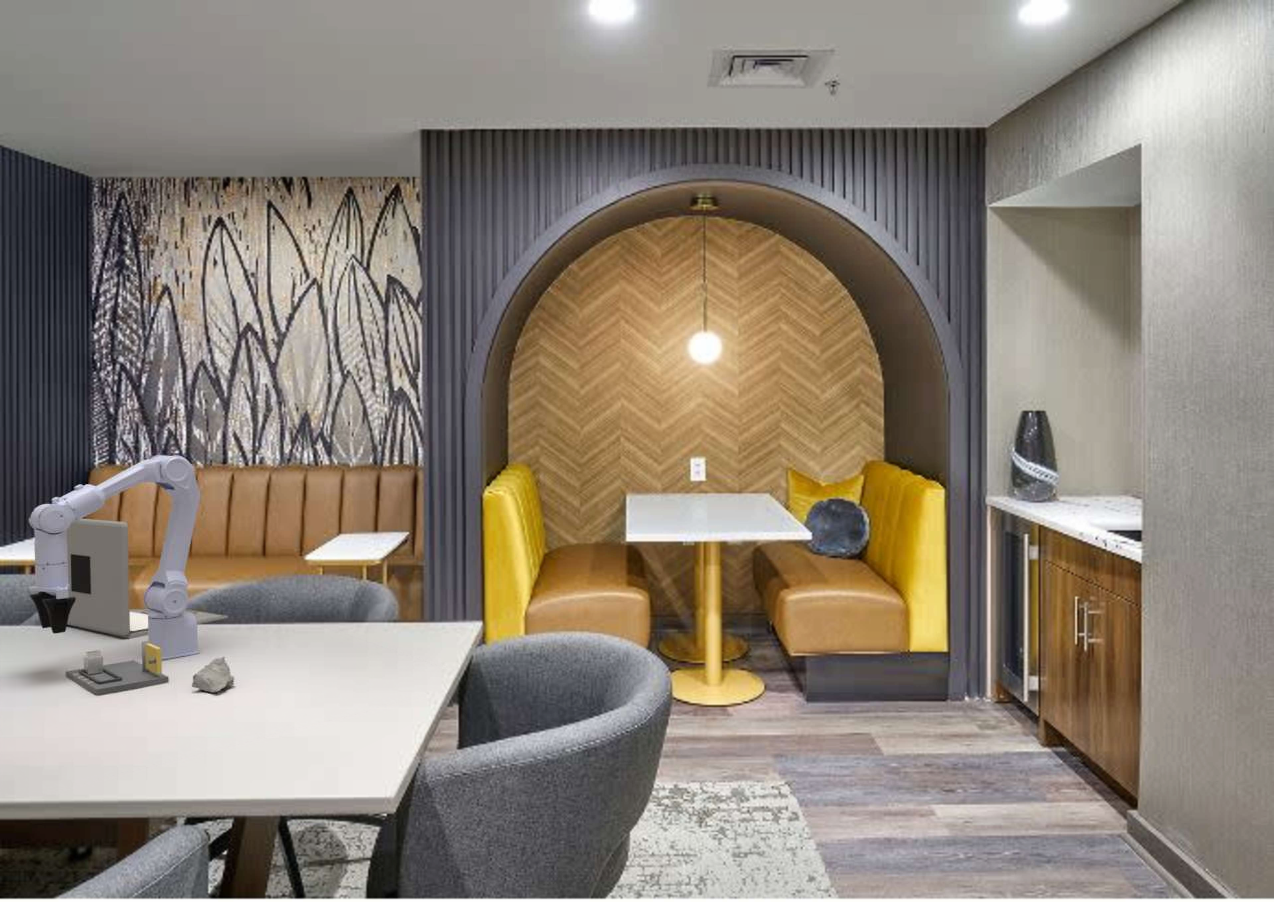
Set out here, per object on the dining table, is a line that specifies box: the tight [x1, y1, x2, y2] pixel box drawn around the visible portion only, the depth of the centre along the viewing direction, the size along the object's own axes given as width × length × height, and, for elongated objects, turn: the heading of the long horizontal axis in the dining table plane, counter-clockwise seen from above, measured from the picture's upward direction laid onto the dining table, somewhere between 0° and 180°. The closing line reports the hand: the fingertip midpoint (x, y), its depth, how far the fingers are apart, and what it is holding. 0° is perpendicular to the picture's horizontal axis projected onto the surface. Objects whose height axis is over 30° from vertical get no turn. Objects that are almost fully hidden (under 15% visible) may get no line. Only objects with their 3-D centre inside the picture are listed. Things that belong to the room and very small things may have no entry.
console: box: [65, 640, 170, 697], centre depth 198 cm, size 13×20×7 cm, turn 45°
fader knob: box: [83, 650, 104, 675], centre depth 199 cm, size 3×2×4 cm
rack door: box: [145, 643, 163, 674], centre depth 197 cm, size 2×7×5 cm, turn 45°
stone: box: [191, 656, 235, 693], centre depth 193 cm, size 6×12×4 cm, turn 177°
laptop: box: [66, 518, 229, 640], centre depth 251 cm, size 36×28×29 cm
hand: (53, 629), depth 200 cm, fingers open, 7 cm apart
